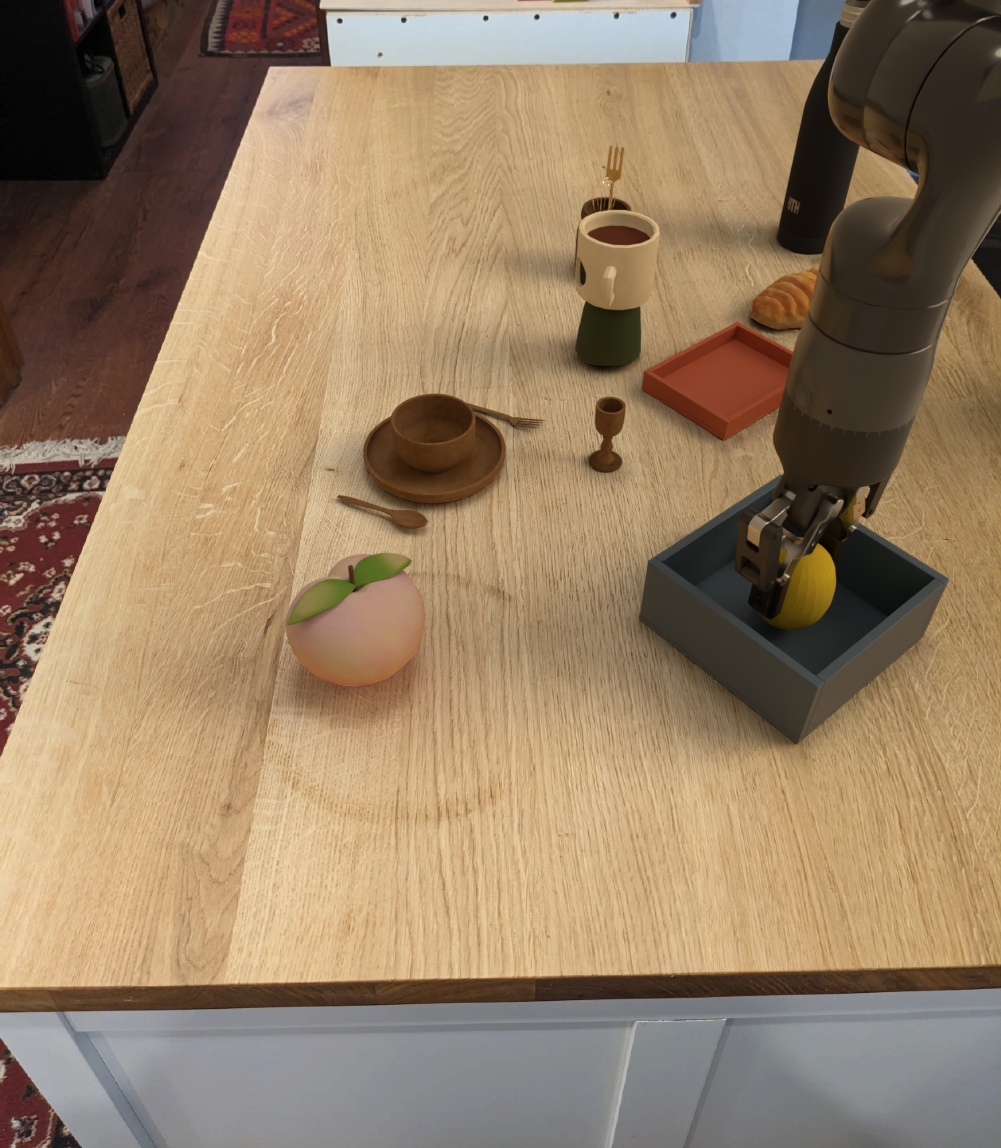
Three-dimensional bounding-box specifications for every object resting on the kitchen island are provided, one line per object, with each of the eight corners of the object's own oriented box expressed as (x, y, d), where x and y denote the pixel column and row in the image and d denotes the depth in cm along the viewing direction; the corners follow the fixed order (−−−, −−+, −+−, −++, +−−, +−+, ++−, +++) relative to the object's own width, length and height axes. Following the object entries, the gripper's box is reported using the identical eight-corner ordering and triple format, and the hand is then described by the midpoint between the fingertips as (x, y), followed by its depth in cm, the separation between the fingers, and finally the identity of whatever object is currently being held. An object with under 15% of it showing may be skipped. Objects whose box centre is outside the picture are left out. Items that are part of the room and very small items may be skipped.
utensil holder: (568, 280, 108) (574, 168, 99) (581, 251, 112) (588, 142, 103) (623, 288, 107) (634, 176, 98) (634, 259, 111) (646, 149, 102)
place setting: (428, 389, 94) (425, 334, 90) (629, 453, 87) (636, 397, 83) (319, 501, 83) (310, 444, 79) (539, 583, 76) (542, 526, 72)
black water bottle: (839, 233, 115) (919, -72, 94) (828, 259, 111) (908, -54, 89) (783, 222, 117) (848, -80, 95) (770, 247, 113) (835, -63, 91)
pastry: (777, 343, 99) (785, 309, 97) (732, 312, 103) (738, 278, 101) (847, 316, 103) (856, 282, 100) (800, 287, 107) (808, 254, 104)
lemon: (814, 661, 71) (842, 581, 65) (735, 640, 72) (756, 560, 66) (825, 606, 74) (853, 526, 69) (749, 587, 76) (771, 507, 70)
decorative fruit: (360, 744, 66) (344, 645, 59) (277, 679, 70) (252, 578, 63) (457, 660, 71) (453, 559, 64) (375, 603, 75) (362, 502, 68)
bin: (765, 531, 81) (780, 473, 76) (923, 636, 73) (950, 578, 69) (638, 618, 74) (647, 560, 70) (796, 744, 66) (818, 687, 62)
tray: (733, 339, 100) (737, 321, 98) (816, 384, 95) (821, 366, 93) (641, 389, 94) (643, 370, 93) (723, 440, 89) (727, 422, 87)
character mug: (581, 320, 102) (589, 195, 93) (651, 330, 101) (667, 204, 92) (559, 381, 95) (567, 252, 85) (635, 392, 94) (651, 263, 84)
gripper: (829, 471, 53) (767, 674, 65) (979, 370, 60) (898, 571, 72) (720, 406, 57) (681, 608, 69) (872, 317, 64) (812, 516, 76)
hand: (792, 588), depth 71 cm, fingers closed on lemon, 5 cm apart
